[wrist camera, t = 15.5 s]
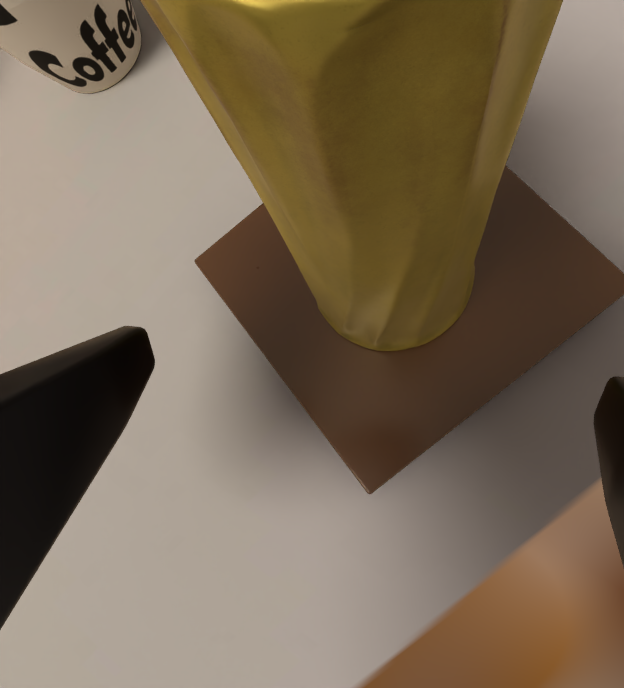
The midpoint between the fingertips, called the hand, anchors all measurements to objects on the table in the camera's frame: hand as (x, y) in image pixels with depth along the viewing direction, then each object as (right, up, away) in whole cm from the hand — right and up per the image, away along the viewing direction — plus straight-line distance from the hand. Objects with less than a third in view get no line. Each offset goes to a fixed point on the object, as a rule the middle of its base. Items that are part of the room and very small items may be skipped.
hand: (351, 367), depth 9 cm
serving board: (+3, +3, +10) cm, 11 cm away
